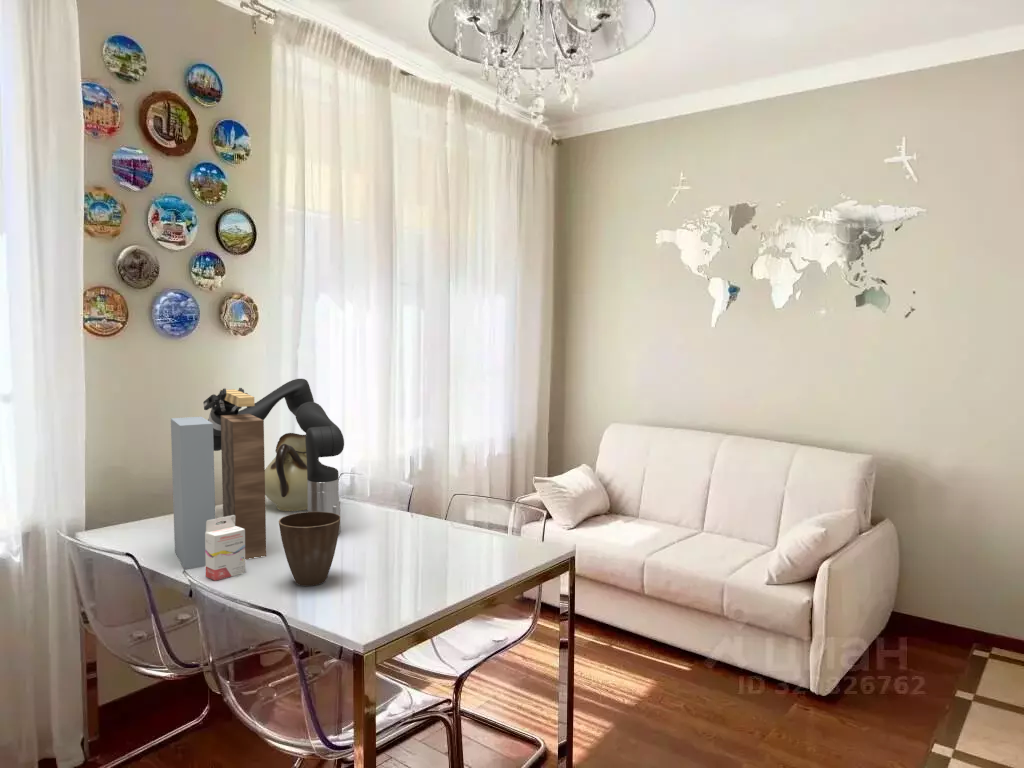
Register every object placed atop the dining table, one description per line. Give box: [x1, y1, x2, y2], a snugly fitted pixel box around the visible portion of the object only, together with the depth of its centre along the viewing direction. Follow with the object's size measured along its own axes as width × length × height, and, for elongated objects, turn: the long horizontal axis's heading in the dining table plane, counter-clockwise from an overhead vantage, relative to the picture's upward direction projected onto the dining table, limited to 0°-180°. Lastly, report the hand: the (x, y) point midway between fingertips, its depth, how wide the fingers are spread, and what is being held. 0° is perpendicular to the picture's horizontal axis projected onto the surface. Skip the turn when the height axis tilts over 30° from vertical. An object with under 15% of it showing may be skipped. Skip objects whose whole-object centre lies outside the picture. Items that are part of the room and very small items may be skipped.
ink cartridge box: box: [205, 515, 246, 582], centre depth 187 cm, size 9×5×15 cm, turn 141°
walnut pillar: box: [220, 414, 267, 560], centre depth 206 cm, size 16×8×38 cm, turn 33°
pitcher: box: [265, 432, 322, 512], centre depth 254 cm, size 22×24×25 cm
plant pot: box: [278, 511, 341, 587], centre depth 184 cm, size 15×15×16 cm
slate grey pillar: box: [170, 416, 216, 570], centre depth 199 cm, size 16×8×38 cm, turn 33°
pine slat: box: [224, 388, 255, 408], centre depth 208 cm, size 24×4×2 cm, turn 33°
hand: (233, 391), depth 212 cm, fingers closed on pine slat, 4 cm apart
